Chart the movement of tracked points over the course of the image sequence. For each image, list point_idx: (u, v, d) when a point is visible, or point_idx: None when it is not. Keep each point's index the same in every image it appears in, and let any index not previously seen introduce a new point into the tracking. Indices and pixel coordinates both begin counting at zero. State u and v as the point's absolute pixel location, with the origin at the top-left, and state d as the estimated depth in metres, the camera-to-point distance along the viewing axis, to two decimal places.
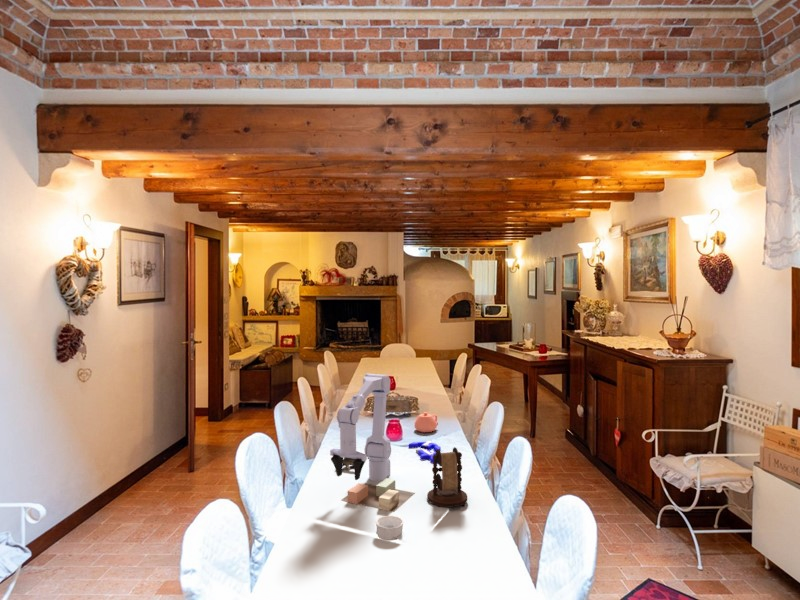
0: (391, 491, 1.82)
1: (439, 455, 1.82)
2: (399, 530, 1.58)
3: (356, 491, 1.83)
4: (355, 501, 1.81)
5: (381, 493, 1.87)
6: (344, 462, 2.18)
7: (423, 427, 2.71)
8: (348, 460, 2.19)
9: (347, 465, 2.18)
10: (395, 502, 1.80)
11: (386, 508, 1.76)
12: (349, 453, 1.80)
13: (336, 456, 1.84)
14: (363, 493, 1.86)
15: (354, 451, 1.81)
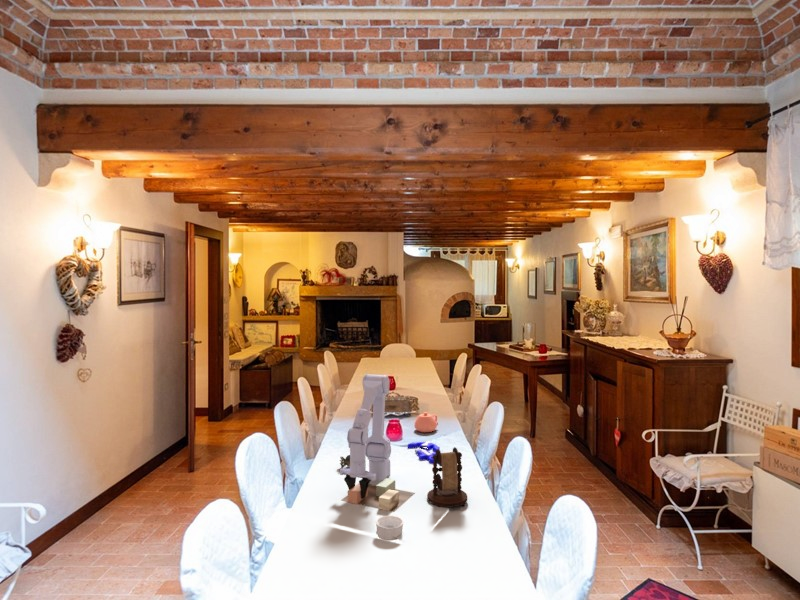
0: (391, 491, 1.82)
1: (439, 455, 1.82)
2: (399, 530, 1.58)
3: (356, 491, 1.83)
4: (355, 501, 1.81)
5: (381, 493, 1.87)
6: (346, 462, 2.19)
7: (423, 427, 2.71)
8: (349, 460, 2.20)
9: (349, 465, 2.18)
10: (395, 502, 1.80)
11: (386, 508, 1.76)
12: (359, 473, 1.83)
13: (346, 475, 1.87)
14: None
15: (364, 471, 1.84)
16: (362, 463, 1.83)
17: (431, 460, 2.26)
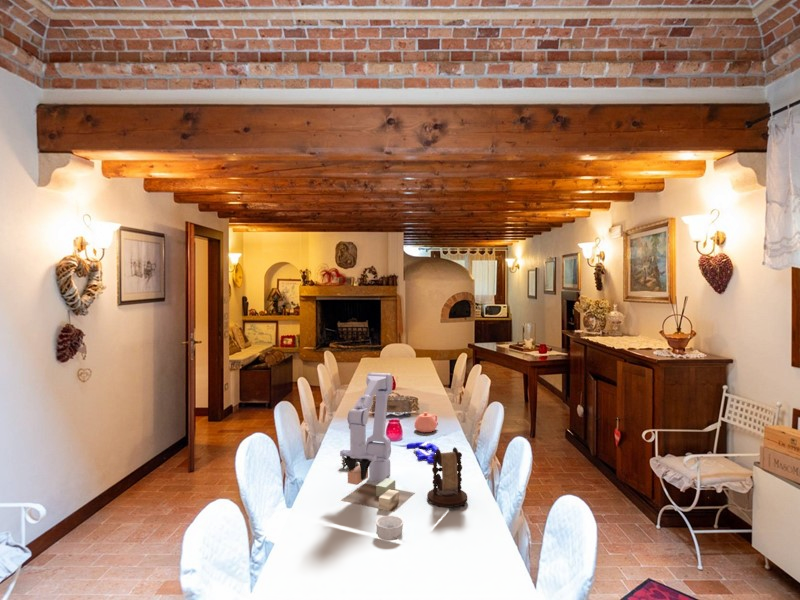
0: (391, 491, 1.82)
1: (439, 455, 1.82)
2: (399, 530, 1.58)
3: (356, 472, 1.82)
4: (356, 482, 1.81)
5: (381, 493, 1.87)
6: None
7: (423, 427, 2.71)
8: None
9: None
10: (395, 502, 1.80)
11: (386, 508, 1.76)
12: (359, 454, 1.83)
13: (346, 457, 1.87)
14: None
15: (364, 452, 1.84)
16: (362, 444, 1.83)
17: (429, 460, 2.26)
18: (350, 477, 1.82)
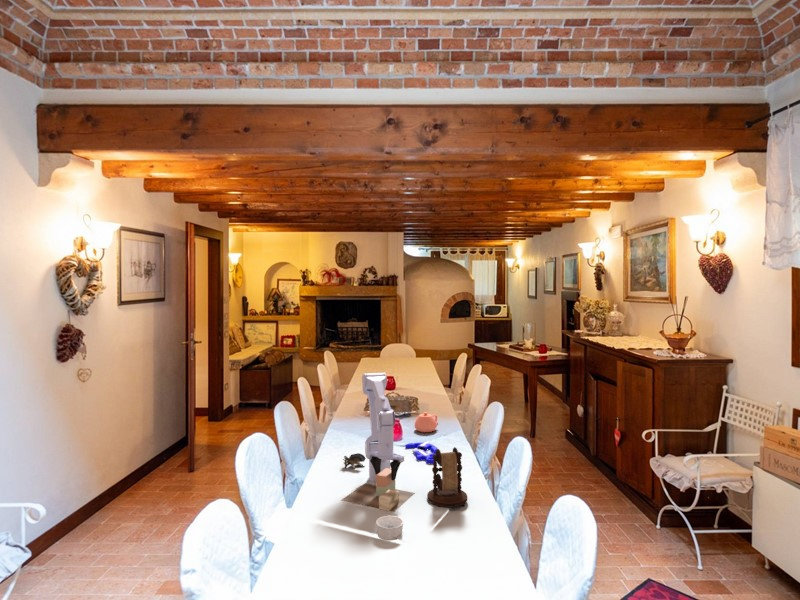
0: (391, 491, 1.82)
1: (439, 455, 1.82)
2: (399, 530, 1.58)
3: (385, 475, 1.87)
4: (384, 485, 1.86)
5: (381, 493, 1.87)
6: (349, 461, 2.20)
7: (423, 427, 2.71)
8: (353, 459, 2.21)
9: (352, 464, 2.19)
10: (395, 502, 1.80)
11: (386, 508, 1.76)
12: (387, 455, 1.88)
13: (374, 458, 1.92)
14: None
15: (392, 453, 1.89)
16: (390, 445, 1.88)
17: (428, 461, 2.25)
18: (378, 480, 1.87)
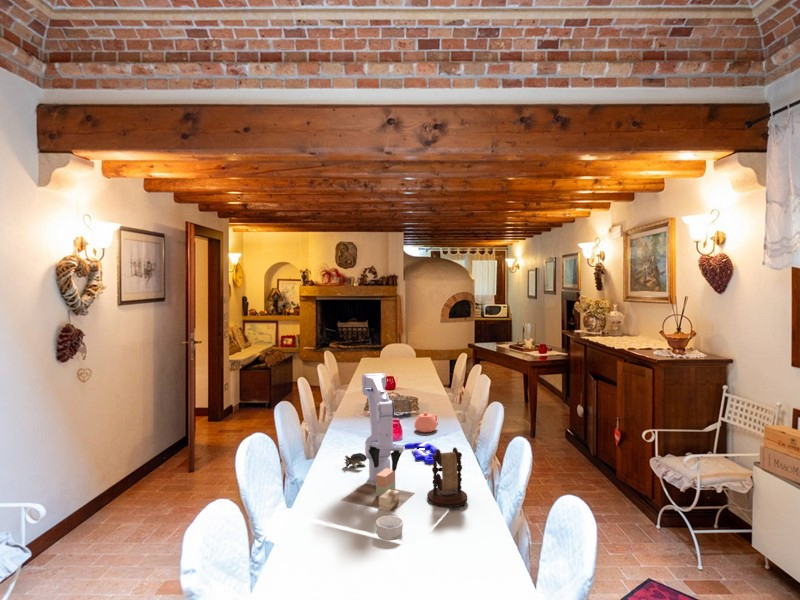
0: (391, 491, 1.82)
1: (439, 455, 1.82)
2: (399, 530, 1.58)
3: (385, 475, 1.87)
4: (384, 485, 1.86)
5: (381, 493, 1.87)
6: (351, 461, 2.20)
7: (423, 427, 2.71)
8: (354, 459, 2.21)
9: (354, 464, 2.20)
10: (395, 502, 1.80)
11: (386, 508, 1.76)
12: (387, 445, 1.88)
13: (373, 448, 1.92)
14: (391, 477, 1.90)
15: (391, 443, 1.89)
16: (390, 436, 1.88)
17: (427, 461, 2.25)
18: (378, 480, 1.87)
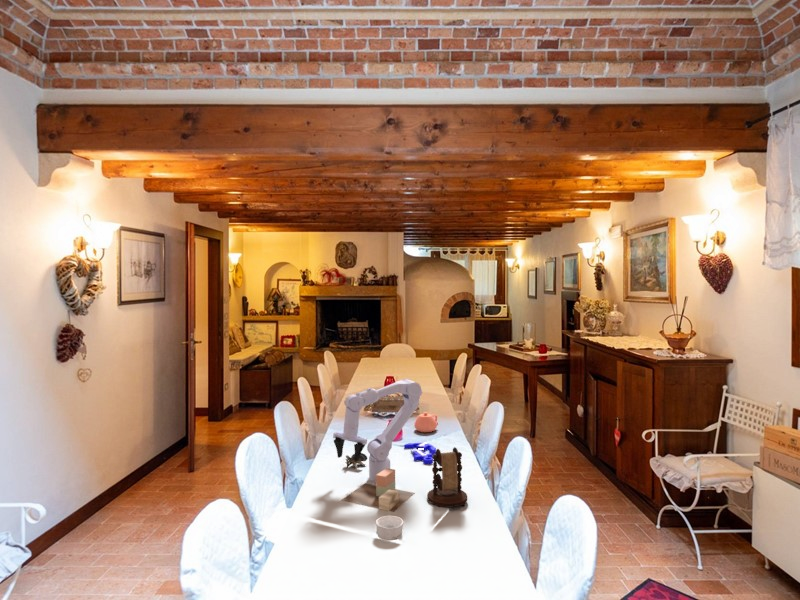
0: (391, 491, 1.82)
1: (439, 455, 1.82)
2: (399, 530, 1.58)
3: (385, 475, 1.87)
4: (384, 485, 1.86)
5: (381, 493, 1.87)
6: (351, 460, 2.20)
7: (423, 427, 2.71)
8: None
9: (354, 463, 2.20)
10: (395, 502, 1.80)
11: (386, 508, 1.76)
12: (351, 436, 1.98)
13: (338, 439, 2.02)
14: (391, 477, 1.90)
15: (356, 435, 2.00)
16: (355, 428, 1.99)
17: (425, 461, 2.25)
18: (378, 480, 1.87)
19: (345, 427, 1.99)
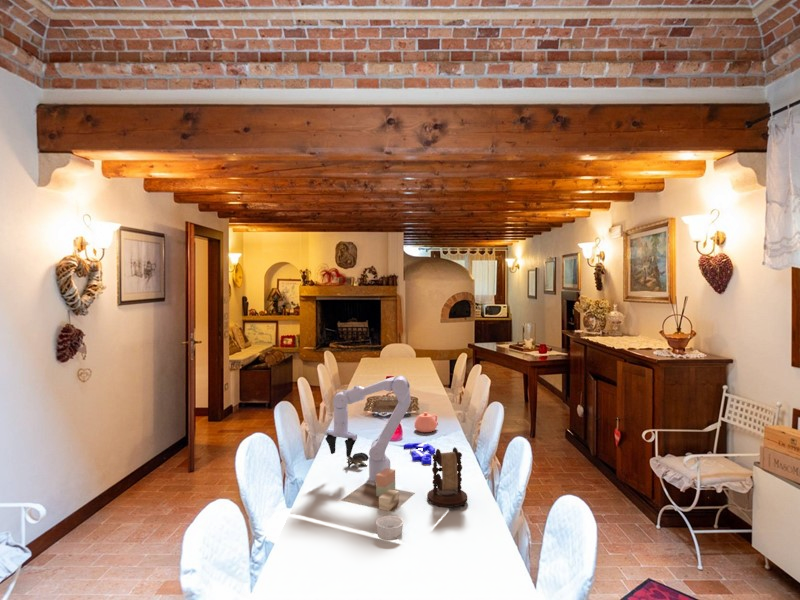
0: (391, 491, 1.82)
1: (439, 455, 1.82)
2: (399, 530, 1.58)
3: (385, 475, 1.87)
4: (384, 485, 1.86)
5: (381, 493, 1.87)
6: (353, 460, 2.21)
7: (423, 427, 2.71)
8: (356, 458, 2.21)
9: (356, 463, 2.20)
10: (395, 502, 1.80)
11: (386, 508, 1.76)
12: (341, 433, 2.03)
13: (330, 436, 2.07)
14: (391, 477, 1.90)
15: (346, 431, 2.05)
16: (344, 424, 2.04)
17: (423, 461, 2.25)
18: (378, 480, 1.87)
19: (335, 424, 2.04)
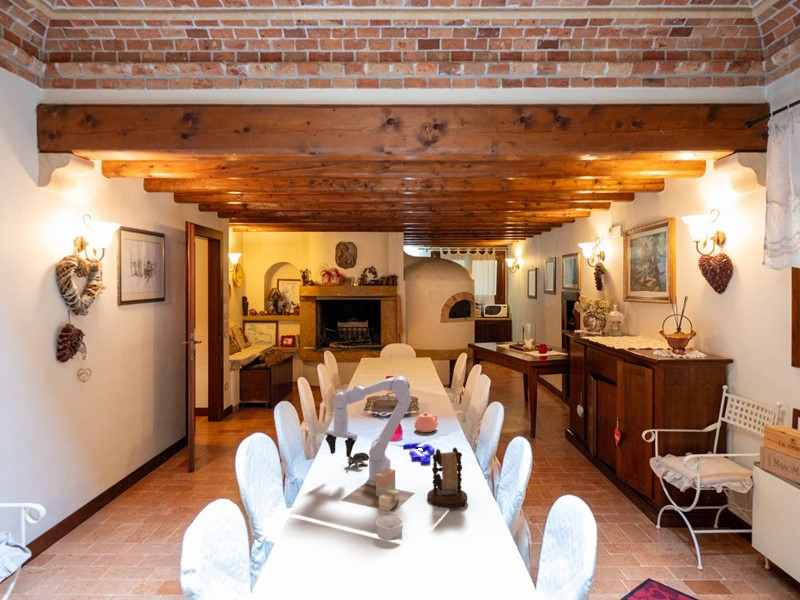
0: (391, 491, 1.82)
1: (439, 455, 1.82)
2: (399, 530, 1.58)
3: (385, 475, 1.87)
4: (384, 485, 1.86)
5: (381, 493, 1.87)
6: (353, 460, 2.21)
7: (423, 427, 2.71)
8: (357, 458, 2.22)
9: (356, 463, 2.20)
10: (395, 502, 1.80)
11: (386, 508, 1.76)
12: (341, 433, 2.03)
13: (330, 436, 2.07)
14: (391, 477, 1.90)
15: (346, 431, 2.05)
16: (344, 424, 2.04)
17: (422, 461, 2.24)
18: (378, 480, 1.87)
19: (335, 424, 2.04)
